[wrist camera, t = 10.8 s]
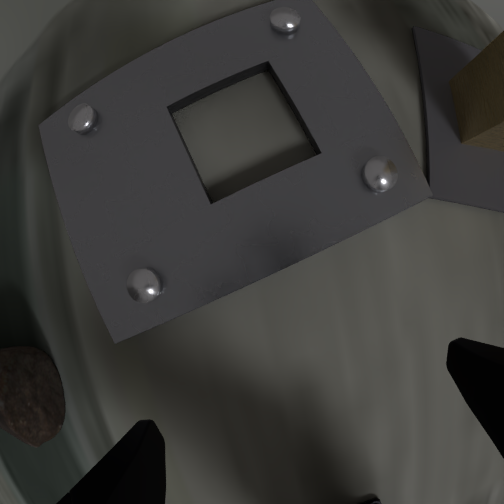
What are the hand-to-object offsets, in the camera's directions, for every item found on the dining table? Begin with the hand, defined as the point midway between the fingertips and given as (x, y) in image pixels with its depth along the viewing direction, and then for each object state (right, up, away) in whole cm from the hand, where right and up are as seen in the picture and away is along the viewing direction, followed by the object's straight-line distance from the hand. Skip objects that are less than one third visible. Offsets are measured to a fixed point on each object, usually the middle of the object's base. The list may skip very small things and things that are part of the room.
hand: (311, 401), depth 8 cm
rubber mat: (+15, +14, +10) cm, 23 cm away
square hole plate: (-4, +11, +11) cm, 16 cm away
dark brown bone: (-30, -7, +14) cm, 34 cm away
